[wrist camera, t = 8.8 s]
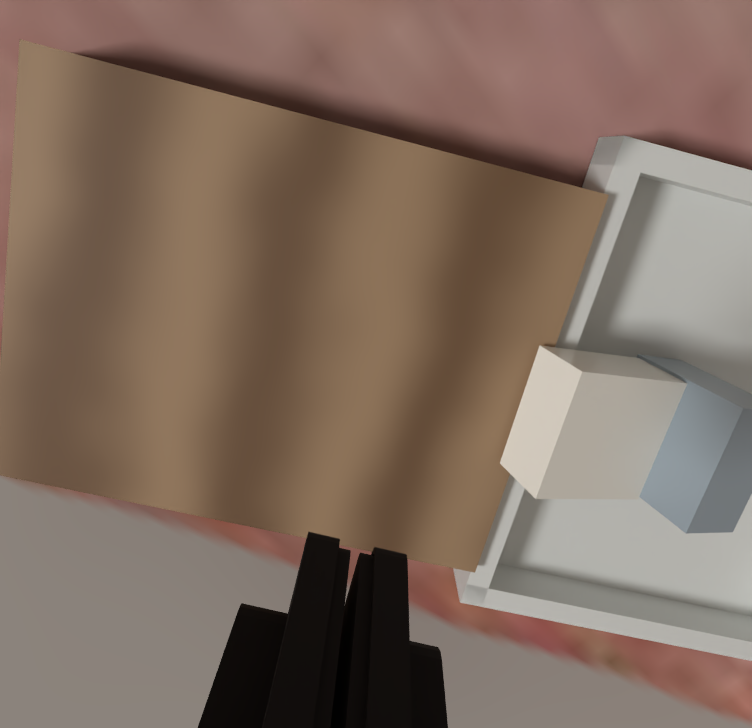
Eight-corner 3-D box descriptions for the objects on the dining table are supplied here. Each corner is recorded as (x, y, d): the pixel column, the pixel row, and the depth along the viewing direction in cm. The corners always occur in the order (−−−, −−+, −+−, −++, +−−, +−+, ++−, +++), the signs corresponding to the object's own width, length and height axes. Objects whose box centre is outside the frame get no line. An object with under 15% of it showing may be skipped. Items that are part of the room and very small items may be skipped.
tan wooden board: (581, 190, 24) (608, 194, 22) (464, 532, 29) (475, 572, 27) (63, 53, 23) (19, 39, 20) (32, 440, 28) (-7, 473, 25)
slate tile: (637, 354, 25) (681, 359, 26) (595, 462, 27) (638, 463, 28) (743, 408, 21) (790, 412, 22) (685, 533, 22) (732, 532, 23)
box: (971, 238, 25) (1034, 247, 23) (758, 629, 31) (790, 668, 29) (599, 137, 24) (624, 135, 21) (452, 566, 30) (460, 602, 28)
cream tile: (639, 358, 25) (687, 383, 23) (596, 466, 27) (638, 499, 25) (539, 345, 23) (582, 371, 21) (499, 463, 25) (535, 498, 22)
